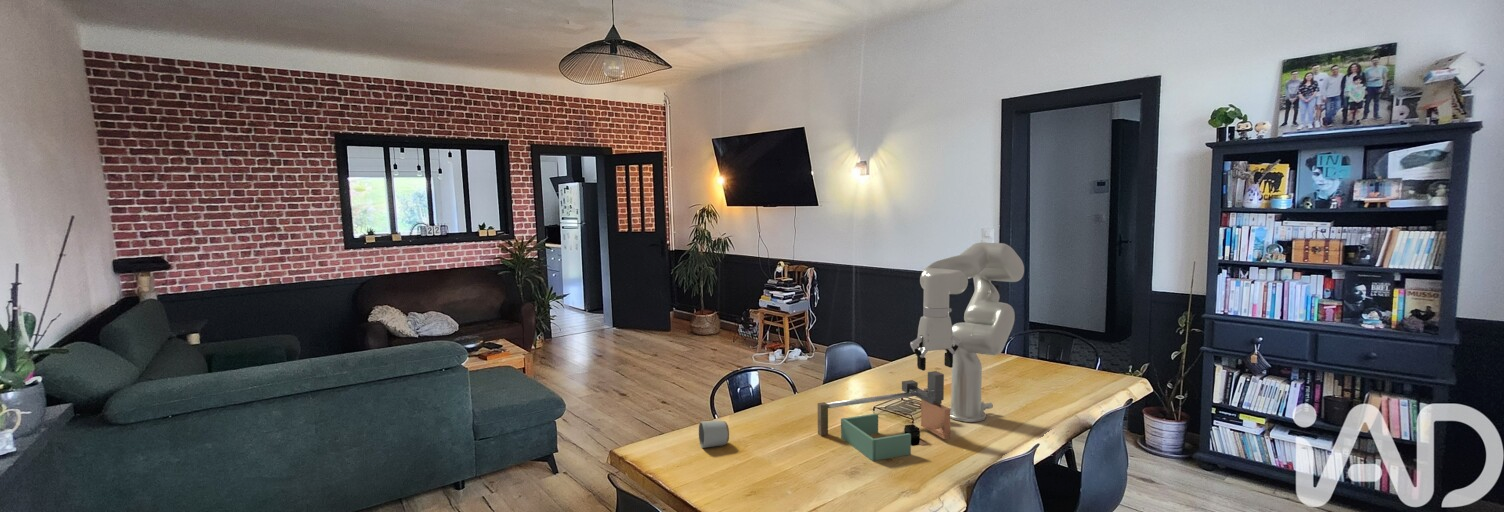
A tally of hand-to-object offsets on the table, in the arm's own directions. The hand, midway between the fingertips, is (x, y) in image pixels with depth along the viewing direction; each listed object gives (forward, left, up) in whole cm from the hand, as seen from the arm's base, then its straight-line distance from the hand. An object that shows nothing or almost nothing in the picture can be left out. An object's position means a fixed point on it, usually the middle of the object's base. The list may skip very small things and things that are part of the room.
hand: (935, 368), depth 196 cm
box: (+21, 0, -22) cm, 30 cm away
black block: (+8, 0, -22) cm, 24 cm away
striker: (0, -5, -20) cm, 21 cm away
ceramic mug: (+66, -20, -22) cm, 72 cm away
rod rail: (+12, -14, -22) cm, 28 cm away
